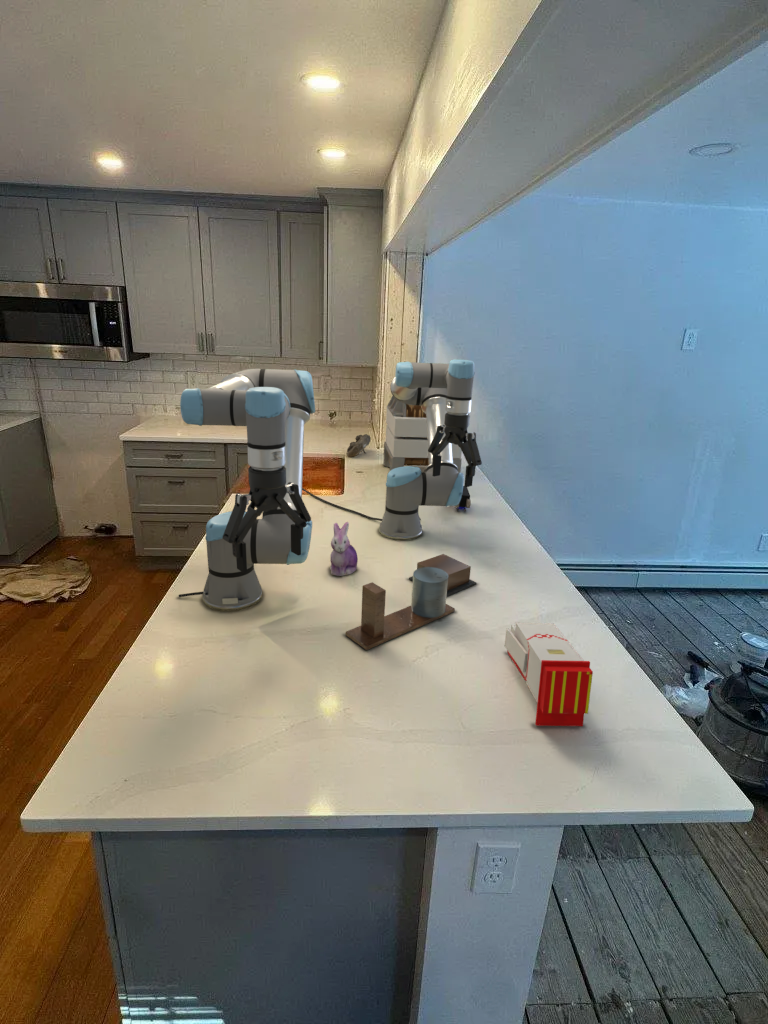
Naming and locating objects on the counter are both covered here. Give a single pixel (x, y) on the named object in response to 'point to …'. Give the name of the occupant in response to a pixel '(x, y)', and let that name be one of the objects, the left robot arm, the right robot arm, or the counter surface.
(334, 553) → the figurine
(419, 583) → the wooden base with post
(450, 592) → the coaster
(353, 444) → the fossil
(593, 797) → the counter surface
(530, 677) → the toy
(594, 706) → the counter surface
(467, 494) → the figurine character
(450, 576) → the lid
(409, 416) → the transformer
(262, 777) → the counter surface
